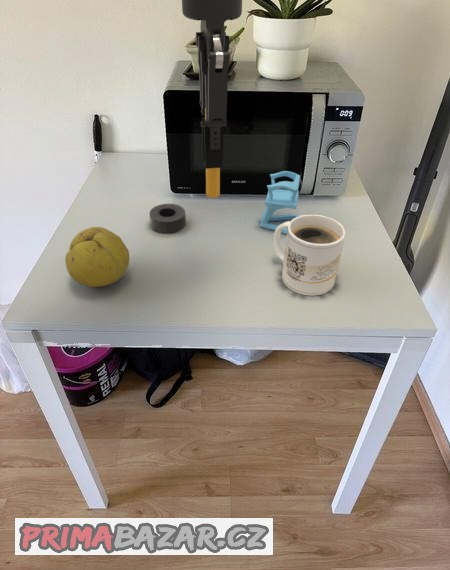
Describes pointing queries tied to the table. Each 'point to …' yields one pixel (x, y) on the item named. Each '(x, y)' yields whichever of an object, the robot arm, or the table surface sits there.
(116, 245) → the fruit
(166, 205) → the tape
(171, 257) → the table surface
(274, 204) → the chair
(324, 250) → the mug
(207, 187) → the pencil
